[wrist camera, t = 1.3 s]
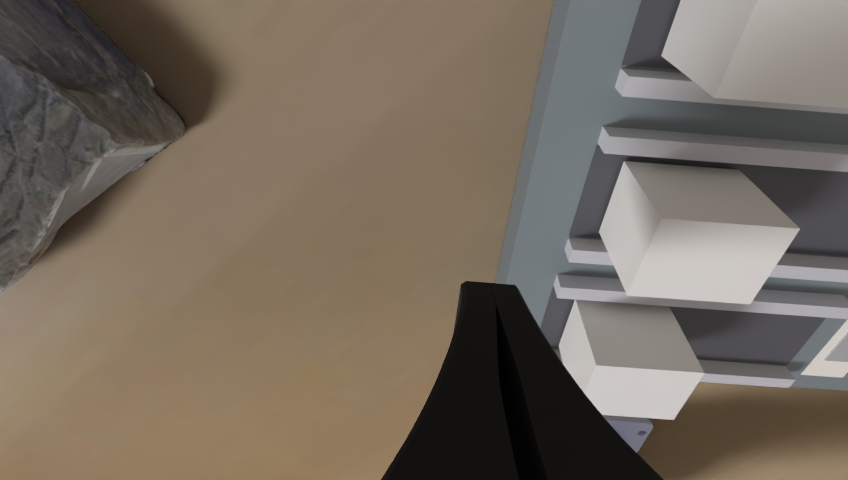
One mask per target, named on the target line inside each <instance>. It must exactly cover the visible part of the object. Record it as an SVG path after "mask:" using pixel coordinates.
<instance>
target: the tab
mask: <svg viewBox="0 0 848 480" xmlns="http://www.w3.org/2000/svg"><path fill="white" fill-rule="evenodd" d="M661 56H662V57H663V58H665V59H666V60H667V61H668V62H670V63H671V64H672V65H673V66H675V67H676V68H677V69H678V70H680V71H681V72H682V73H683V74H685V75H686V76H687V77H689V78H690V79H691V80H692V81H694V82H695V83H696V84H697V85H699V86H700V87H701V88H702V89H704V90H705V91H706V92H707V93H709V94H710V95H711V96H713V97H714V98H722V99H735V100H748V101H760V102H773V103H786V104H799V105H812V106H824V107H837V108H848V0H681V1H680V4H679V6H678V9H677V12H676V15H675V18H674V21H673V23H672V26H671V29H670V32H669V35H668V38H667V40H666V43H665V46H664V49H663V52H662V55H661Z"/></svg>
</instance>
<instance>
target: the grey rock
mask: <svg viewBox="0 0 848 480" xmlns="http://www.w3.org/2000/svg"><path fill="white" fill-rule="evenodd" d="M185 130H186V129H185V126H184V123H183V120H182V118H181V117H180V116H179V114H178V113H177V112H176V111H175V110H174V108H173V107H172V106H171V105H170V104H169V103H167V102H166V101H165V100H164V99H162V98H161V97H160V96H159V95H158V93H157V91H156V89H155V86H154V83H153V81H152V79H151V78H150V76H149V75H148V74H147V73H146V72H145V71H143V70H142V69H141V68H140V67H139V66H138V65H136V64H135V63H134V62H133V61H132V60H131V59H130V58H129V57H128V56H127V55H126V54H124V53H123V52H122V51H121V50H120V49H119V48H118V47H117V46H116V45H115V44H114V43H113V42H112V41H111V40H110V39H109V38H108V36H107V35H106V34H105V33H104V32H103V31H102V30H101V29H100V28H99V27H98V26H97V25H96V24H95V23H94V22H93V21H92V20H91V19H90V18H89V17H88V16H87V15H86V14H85V13H84V12H83V11H82V10H81V9H80V8H79V7H78V6H77V5H76V4H75V3H74V2H73V1H72V0H0V292H2V291H3V290H5V289H6V288H8V287H9V286H11V285H12V284H13V283H15V282H16V281H18V280H19V279H20V278H22V277H23V276H24V275H25V274H26V273H27V272H28V271H29V270H30V269H31V268H32V267H33V266H34V265H35V264H36V262H37V261H38V259H39V258H40V256H41V255H42V254H43V253H44V252H45V251H46V249H47V248H48V247H49V246H50V244H51V242H52V241H53V239H54V237H55V235H56V233H57V231H58V229H59V228H60V227H61V225H62V224H64V223H65V222H66V221H67V220H68V219H69V218H70V217H71V216H73V215H74V214H75V213H76V212H78V211H79V210H80V209H82V208H83V207H84V206H86V205H87V204H88V203H89V202H91V201H92V200H93V199H95V198H96V197H97V196H99V195H100V194H101V193H102V192H104V191H105V190H106V189H108V188H109V187H110V186H112V185H113V184H114V183H115V182H117V181H118V180H119V179H121V178H122V177H123V176H125V175H126V174H127V173H128V172H131V171H133V170H136V169H138V168H139V167H141V166H142V165H143V164H144V163H145V162H147V161H148V160H149V159H150V158H151V157H153V156H154V155H155V154H156V153H158V152H161V151H162V149H163V148H164V147H166V146H167V145H168V144H169V143H172V142H175V141H176V140H178V139H179V138H180V137H182V136H183V135H184V132H185Z"/></svg>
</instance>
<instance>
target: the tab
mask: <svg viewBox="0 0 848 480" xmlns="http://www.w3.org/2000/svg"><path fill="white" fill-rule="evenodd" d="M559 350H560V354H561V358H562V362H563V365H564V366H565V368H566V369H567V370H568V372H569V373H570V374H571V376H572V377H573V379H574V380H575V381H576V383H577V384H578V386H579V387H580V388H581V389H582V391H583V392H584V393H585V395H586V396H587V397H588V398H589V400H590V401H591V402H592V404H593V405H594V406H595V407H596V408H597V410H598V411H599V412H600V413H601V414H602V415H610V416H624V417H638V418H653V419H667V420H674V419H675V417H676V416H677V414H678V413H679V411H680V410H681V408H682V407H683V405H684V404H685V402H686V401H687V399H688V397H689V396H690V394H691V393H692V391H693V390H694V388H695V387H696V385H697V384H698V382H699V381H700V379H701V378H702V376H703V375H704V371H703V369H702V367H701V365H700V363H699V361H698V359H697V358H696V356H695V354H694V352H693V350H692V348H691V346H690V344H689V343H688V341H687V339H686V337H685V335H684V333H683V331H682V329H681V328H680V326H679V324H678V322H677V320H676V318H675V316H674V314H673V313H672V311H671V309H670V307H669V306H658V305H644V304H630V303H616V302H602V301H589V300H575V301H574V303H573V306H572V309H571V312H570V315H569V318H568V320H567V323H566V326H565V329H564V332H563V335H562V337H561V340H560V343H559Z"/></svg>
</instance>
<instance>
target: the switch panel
mask: <svg viewBox="0 0 848 480" xmlns="http://www.w3.org/2000/svg"><path fill="white" fill-rule="evenodd" d="M680 1H681V0H554V5H553V10H552V14H551V19H550V24H549V29H548V33H547V38H546V43H545V48H544V52H543V57H542V62H541V67H540V72H539V76H538V81H537V86H536V91H535V95H534V100H533V105H532V110H531V115H530V119H529V124H528V129H527V134H526V138H525V143H524V148H523V153H522V157H521V162H520V167H519V172H518V177H517V181H516V186H515V191H514V196H513V200H512V205H511V210H510V215H509V220H508V224H507V229H506V234H505V239H504V243H503V248H502V253H501V258H500V263H499V267H498V272H497V277H496V282H495V283H497V284H511V285H516V286H517V288H518V289H519V291H520V293H521V295H522V297H523V299H524V300H525V302H526V304H527V306H528V308H529V310H530V312H531V313H532V315H533V317H534V319H535V320H536V322H537V324H538V326H539V327H540V329H541V331H542V332H543V334H544V335H545V337H546V339H547V340H548V342H549V343H550V345H551V346H552V348H553V350H554V351H555V353H556V354H557V356H558V357H559V359H560V360H561V362H562V358H561V354H560V350H559V343H560V340H561V337H562V335H563V332H564V329H565V326H566V323H567V320H568V318H569V315H570V312H571V309H572V306H573V303H574V301H575V300H589V301H602V302H616V303H630V304H644V305H658V306H669V307H670V309H671V311H672V313H673V314H674V316H675V318H676V320H677V322H678V324H679V326H680V328H681V329H682V331H683V333H684V335H685V337H686V339H687V341H688V343H689V344H690V346H691V348H692V350H693V352H694V354H695V356H696V358H697V359H698V361H699V363H700V365H701V367H702V369H703V371H704V375H703V376H702V378H701V379H700V381H699V382H712V383H726V384H741V385H755V386H769V387H783V388H789V387H801V388H815V389H829V390H843V391H848V108H837V107H824V106H812V105H799V104H786V103H773V102H760V101H748V100H735V99H722V98H714V97H713V96H711V95H710V94H709V93H707V92H706V91H705V90H704V89H702V88H701V87H700V86H699V85H697V84H696V83H695V82H694V81H692V80H691V79H690V78H689V77H687V76H686V75H685V74H683V73H682V72H681V71H680V70H678V69H677V68H676V67H675V66H673V65H672V64H671V63H670V62H668V61H667V60H666V59H665V58H663V57H662V56H661V55H662V52H663V49H664V46H665V43H666V40H667V38H668V35H669V32H670V29H671V26H672V23H673V21H674V18H675V15H676V12H677V9H678V6H679V4H680ZM624 161H630V162H643V163H656V164H670V165H683V166H696V167H709V168H722V169H735V170H740V171H741V172H742V173H743V174H744V175H745V176H746V177H747V178H748V179H749V180H750V181H751V182H752V183H754V184H755V185H756V186H757V187H758V188H759V189H760V190H761V191H762V192H763V193H764V194H765V195H766V196H767V197H768V198H769V199H770V200H771V201H772V202H773V203H774V204H775V205H776V206H777V207H778V208H779V209H780V210H781V211H782V212H783V213H785V214H786V215H787V216H788V217H789V218H790V219H791V220H792V221H793V222H794V223H795V224H796V225H797V226H798V227H799V228H800V230H799V232H798V233H797V235H796V236H795V238H794V239H793V241H792V242H791V244H790V245H789V247H788V248H787V250H786V251H785V253H784V254H783V256H782V257H781V259H780V260H779V262H778V263H777V265H776V266H775V268H774V269H773V271H772V272H771V274H770V275H769V277H768V278H767V280H766V281H765V283H764V284H763V286H762V287H761V289H760V290H759V292H758V293H757V295H756V296H755V298H754V299H753V301H752V302H751V304H737V303H723V302H710V301H696V300H682V299H668V298H654V297H641V296H627V294H626V292H625V290H624V287H623V285H622V283H621V281H620V278H619V276H618V274H617V272H616V269H615V267H614V265H613V263H612V260H611V258H610V256H609V254H608V251H607V249H606V247H605V245H604V242H603V240H602V238H601V236H600V233H599V230H600V227H601V224H602V221H603V219H604V216H605V213H606V210H607V207H608V204H609V202H610V199H611V196H612V193H613V190H614V187H615V185H616V182H617V179H618V176H619V173H620V171H621V168H622V165H623V162H624ZM562 363H563V362H562Z"/></svg>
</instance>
